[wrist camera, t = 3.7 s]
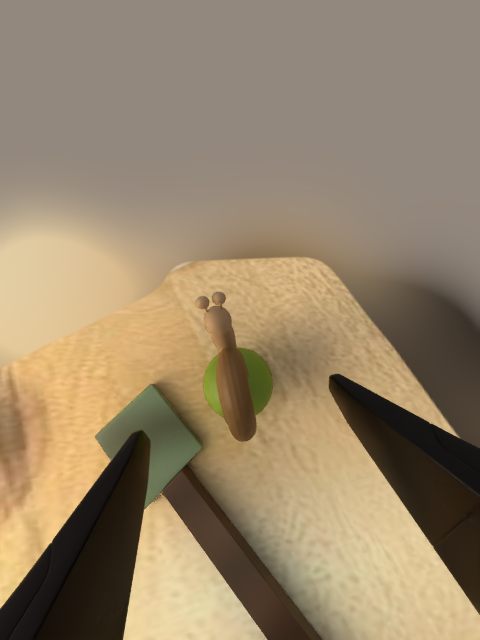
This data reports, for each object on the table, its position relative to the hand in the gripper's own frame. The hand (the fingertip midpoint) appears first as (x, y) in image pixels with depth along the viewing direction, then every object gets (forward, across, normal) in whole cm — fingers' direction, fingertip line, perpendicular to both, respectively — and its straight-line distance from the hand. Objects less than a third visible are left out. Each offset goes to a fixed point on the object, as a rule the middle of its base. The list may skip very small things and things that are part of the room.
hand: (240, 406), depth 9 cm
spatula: (0, +5, +12) cm, 13 cm away
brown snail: (+8, 0, +6) cm, 9 cm away
